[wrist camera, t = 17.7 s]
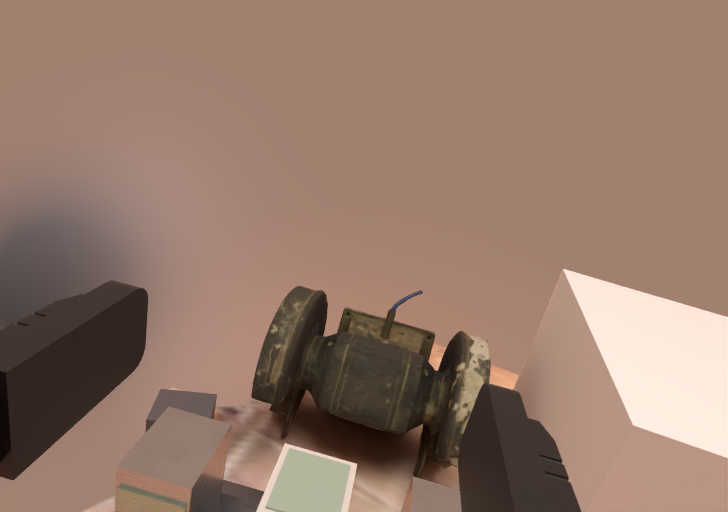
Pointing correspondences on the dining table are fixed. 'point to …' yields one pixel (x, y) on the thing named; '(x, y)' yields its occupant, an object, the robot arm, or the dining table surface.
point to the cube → (632, 397)
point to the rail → (214, 473)
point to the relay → (182, 404)
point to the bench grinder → (371, 373)
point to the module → (308, 483)
